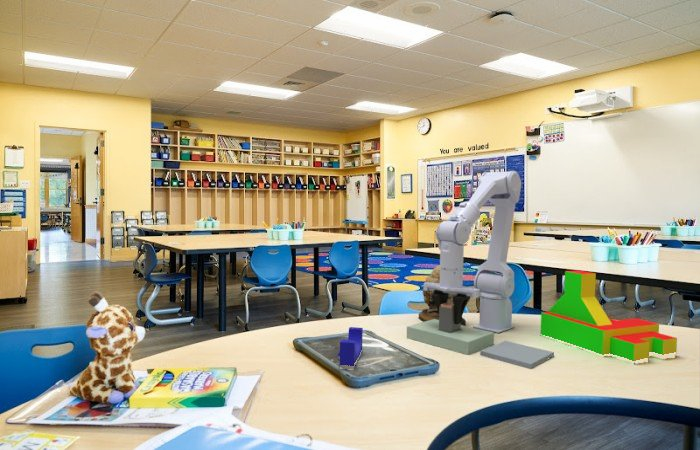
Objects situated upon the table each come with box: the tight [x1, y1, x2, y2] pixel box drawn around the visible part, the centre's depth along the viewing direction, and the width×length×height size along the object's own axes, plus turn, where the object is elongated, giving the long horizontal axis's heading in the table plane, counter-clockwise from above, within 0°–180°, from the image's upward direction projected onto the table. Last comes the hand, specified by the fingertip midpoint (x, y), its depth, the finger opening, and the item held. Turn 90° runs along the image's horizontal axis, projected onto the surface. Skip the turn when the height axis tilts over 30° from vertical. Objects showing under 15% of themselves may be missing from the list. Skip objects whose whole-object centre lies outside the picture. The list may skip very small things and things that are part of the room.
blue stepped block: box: [337, 326, 364, 366], centre depth 103 cm, size 12×4×6 cm, turn 170°
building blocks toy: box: [539, 270, 678, 361], centre depth 118 cm, size 19×25×18 cm
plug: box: [439, 302, 461, 333], centre depth 119 cm, size 5×4×9 cm
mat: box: [479, 340, 555, 369], centre depth 108 cm, size 12×12×1 cm
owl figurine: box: [418, 264, 467, 326], centre depth 139 cm, size 18×12×17 cm, turn 27°
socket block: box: [406, 319, 495, 356], centre depth 119 cm, size 12×18×3 cm, turn 45°
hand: (450, 322), depth 119 cm, fingers closed on plug, 3 cm apart
